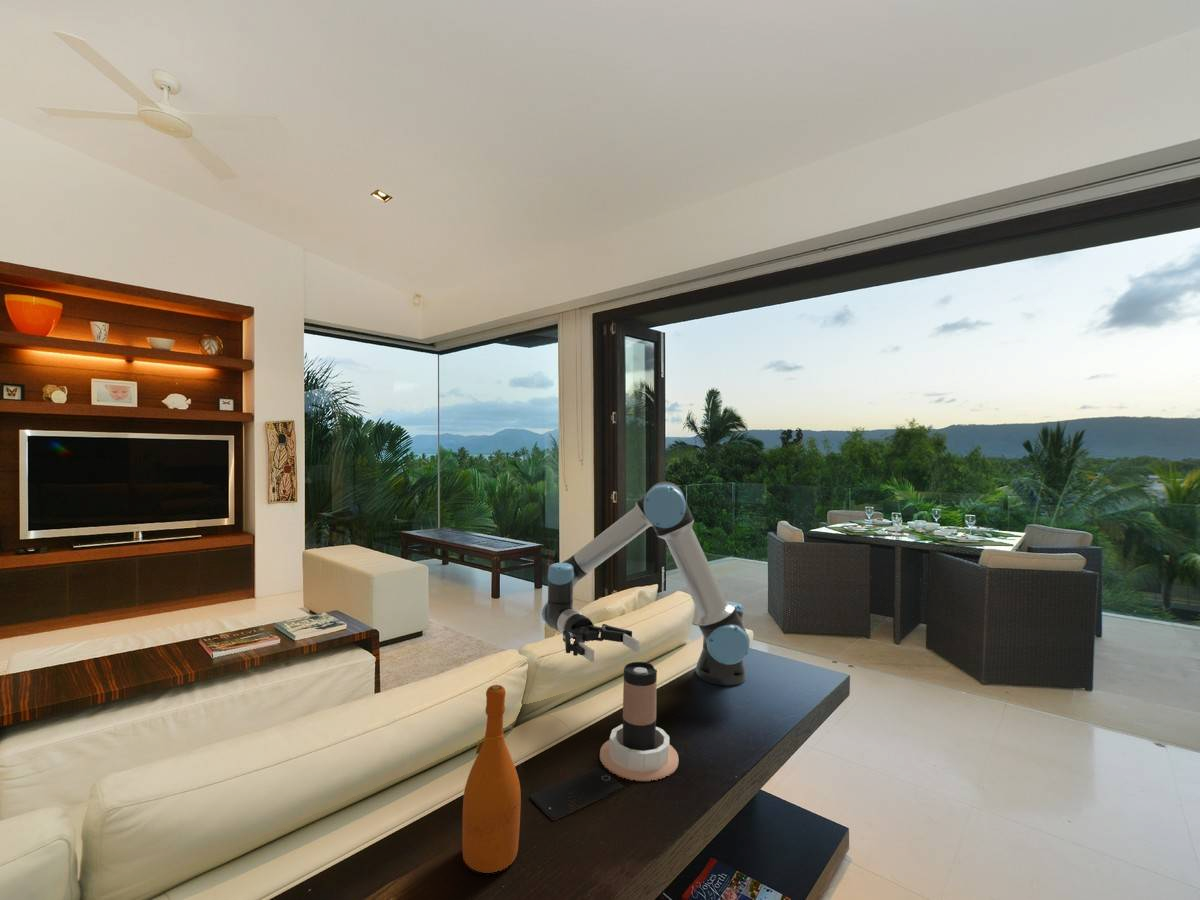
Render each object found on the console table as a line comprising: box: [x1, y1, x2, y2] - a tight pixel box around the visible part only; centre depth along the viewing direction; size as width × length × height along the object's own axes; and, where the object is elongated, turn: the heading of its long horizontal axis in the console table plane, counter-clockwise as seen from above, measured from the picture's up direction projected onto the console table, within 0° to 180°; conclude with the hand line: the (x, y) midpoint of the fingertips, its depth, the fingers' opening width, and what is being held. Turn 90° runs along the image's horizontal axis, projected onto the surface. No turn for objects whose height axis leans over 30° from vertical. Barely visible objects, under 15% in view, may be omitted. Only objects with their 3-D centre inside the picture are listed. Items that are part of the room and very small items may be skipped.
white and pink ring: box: [599, 723, 680, 782], centre depth 134 cm, size 18×18×5 cm
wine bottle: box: [461, 684, 522, 874], centre depth 101 cm, size 10×10×30 cm
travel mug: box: [622, 661, 658, 751], centre depth 134 cm, size 8×8×20 cm
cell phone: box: [529, 766, 625, 819], centre depth 120 cm, size 9×18×1 cm, turn 129°
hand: (616, 651), depth 148 cm, fingers open, 13 cm apart
